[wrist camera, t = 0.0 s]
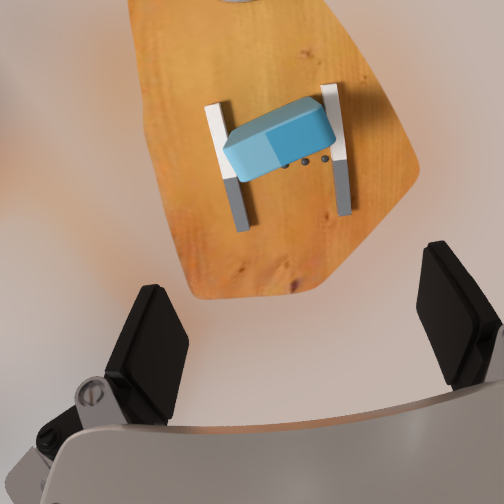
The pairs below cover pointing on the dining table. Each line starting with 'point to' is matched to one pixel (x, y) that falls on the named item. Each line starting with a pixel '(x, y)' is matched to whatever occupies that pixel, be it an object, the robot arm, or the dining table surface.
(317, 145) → the blue rounded box
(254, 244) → the dining table surface
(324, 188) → the dining table surface
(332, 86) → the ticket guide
